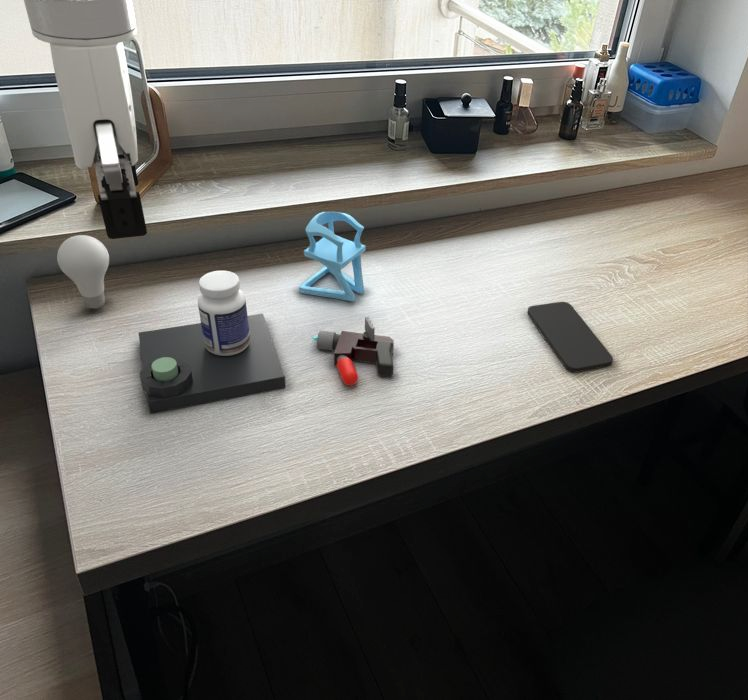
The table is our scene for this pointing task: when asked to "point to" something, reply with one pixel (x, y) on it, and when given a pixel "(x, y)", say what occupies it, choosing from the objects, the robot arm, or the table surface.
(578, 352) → the phone
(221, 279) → the pill bottle
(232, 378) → the dark grey button base
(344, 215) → the chair
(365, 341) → the toy gun
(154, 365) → the button
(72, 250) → the lightbulb
